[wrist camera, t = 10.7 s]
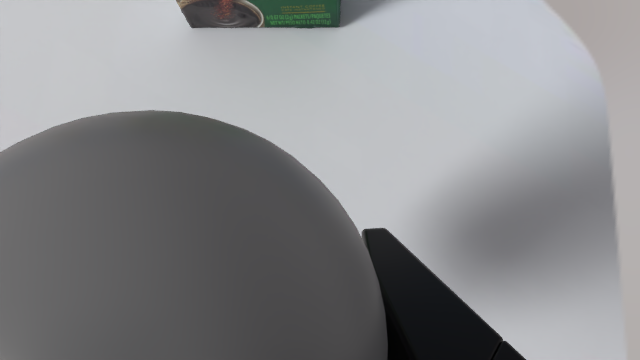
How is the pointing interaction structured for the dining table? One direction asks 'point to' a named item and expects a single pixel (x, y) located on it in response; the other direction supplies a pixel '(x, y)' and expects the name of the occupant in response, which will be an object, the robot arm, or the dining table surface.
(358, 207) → the dining table surface
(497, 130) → the dining table surface
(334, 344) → the grey tall cylinder
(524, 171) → the dining table surface
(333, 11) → the coffee box
